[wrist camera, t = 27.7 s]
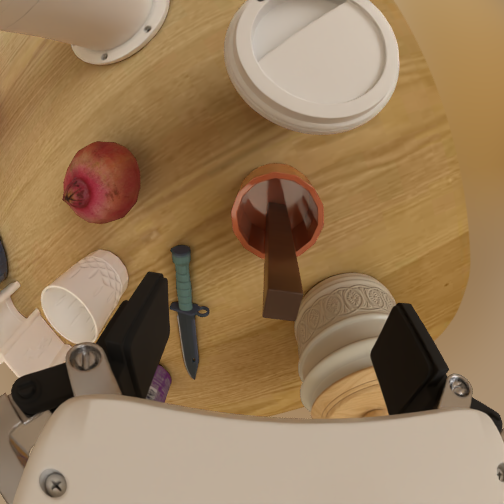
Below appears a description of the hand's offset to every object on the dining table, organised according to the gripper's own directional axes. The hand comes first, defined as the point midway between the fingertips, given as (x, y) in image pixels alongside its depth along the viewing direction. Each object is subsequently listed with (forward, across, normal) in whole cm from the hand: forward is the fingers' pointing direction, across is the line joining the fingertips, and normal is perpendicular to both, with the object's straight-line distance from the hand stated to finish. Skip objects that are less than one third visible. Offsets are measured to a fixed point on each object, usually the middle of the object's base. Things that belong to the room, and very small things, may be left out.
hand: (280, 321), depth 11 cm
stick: (+19, -1, +2) cm, 19 cm away
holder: (+19, -1, 0) cm, 19 cm away
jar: (+19, -12, +14) cm, 26 cm away
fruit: (+20, +16, 0) cm, 26 cm away
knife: (+20, +8, +19) cm, 28 cm away
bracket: (+20, +37, +30) cm, 52 cm away
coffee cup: (+20, -1, -11) cm, 23 cm away
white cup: (+20, +19, +13) cm, 30 cm away
